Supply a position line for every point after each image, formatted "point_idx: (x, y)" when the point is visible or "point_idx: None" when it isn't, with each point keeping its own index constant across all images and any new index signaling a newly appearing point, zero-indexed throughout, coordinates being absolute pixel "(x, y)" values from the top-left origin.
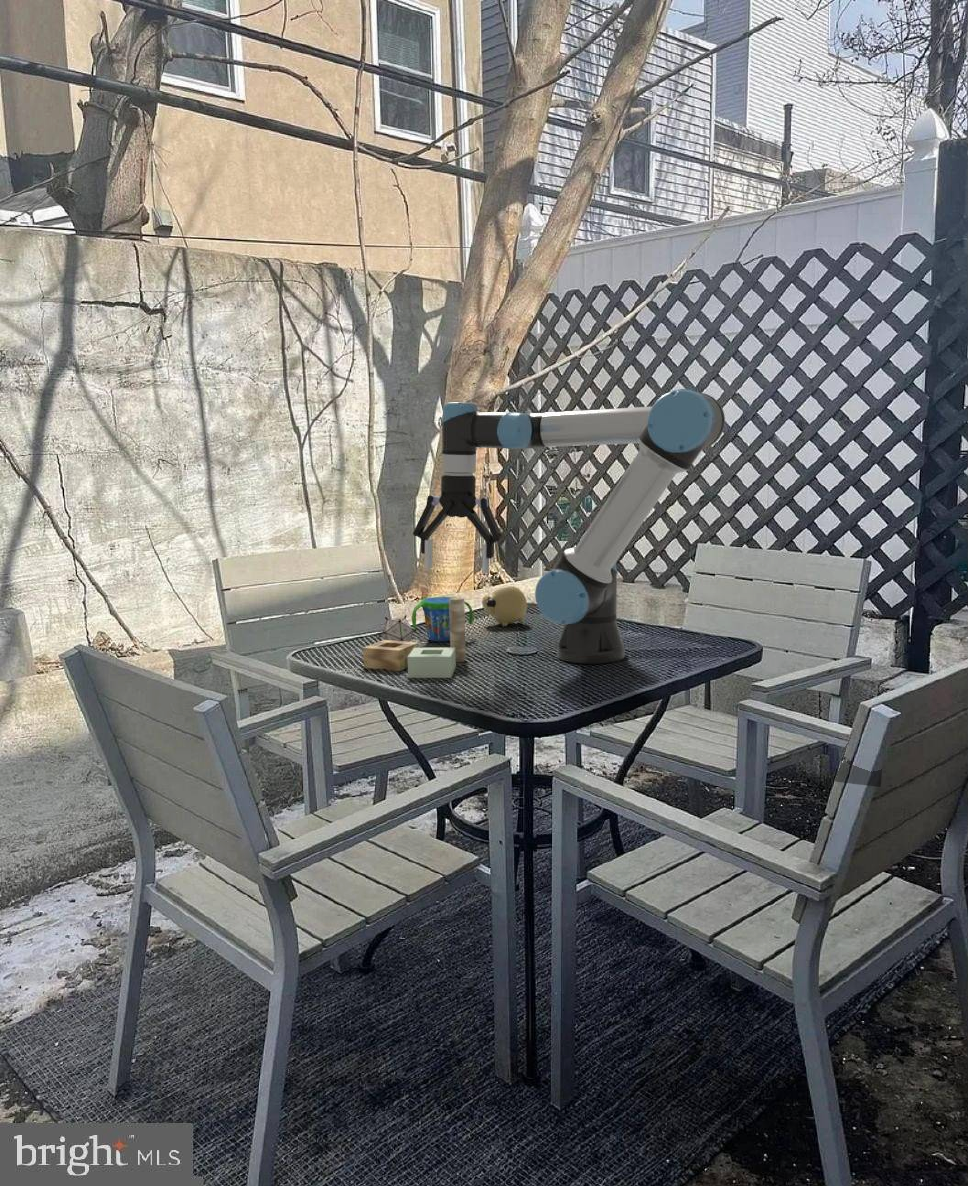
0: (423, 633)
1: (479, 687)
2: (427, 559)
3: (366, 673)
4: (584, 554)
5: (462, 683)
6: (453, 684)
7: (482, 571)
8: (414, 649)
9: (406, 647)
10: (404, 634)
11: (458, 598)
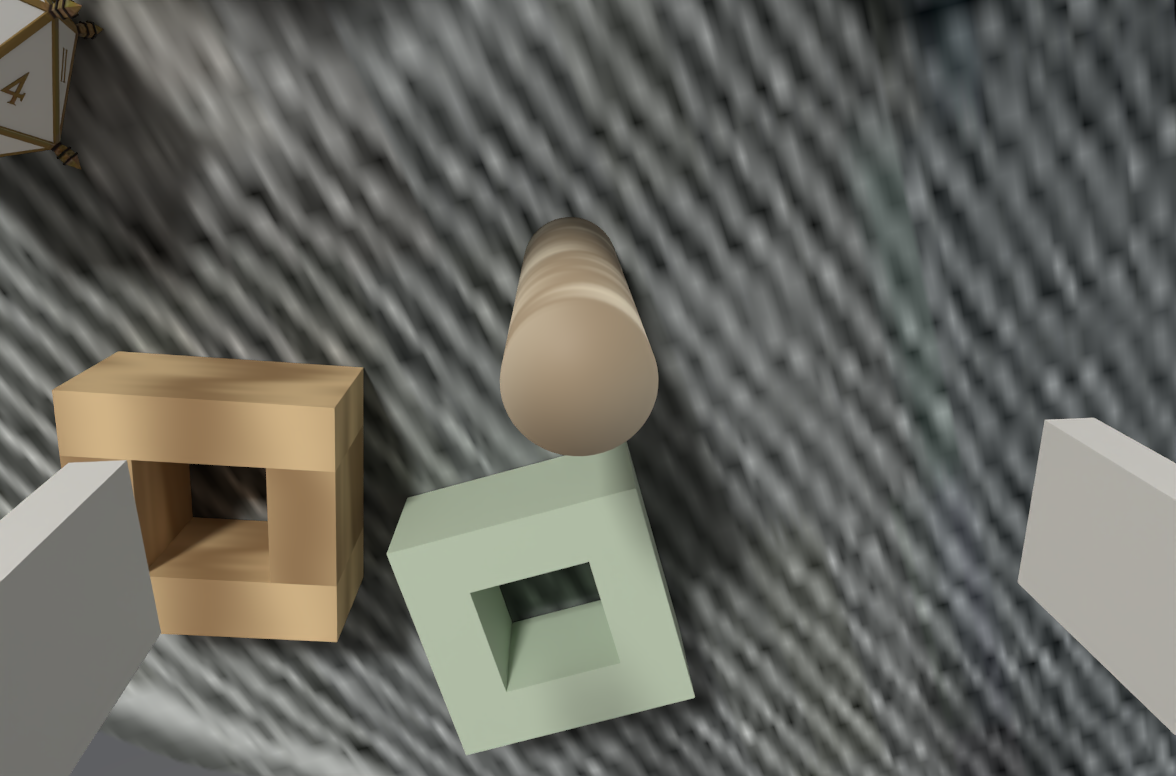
0: None
1: (862, 735)
2: (87, 739)
3: (226, 657)
4: None
5: (767, 698)
6: (732, 722)
7: (1041, 599)
8: (413, 596)
9: (336, 559)
10: (40, 111)
11: (582, 340)
